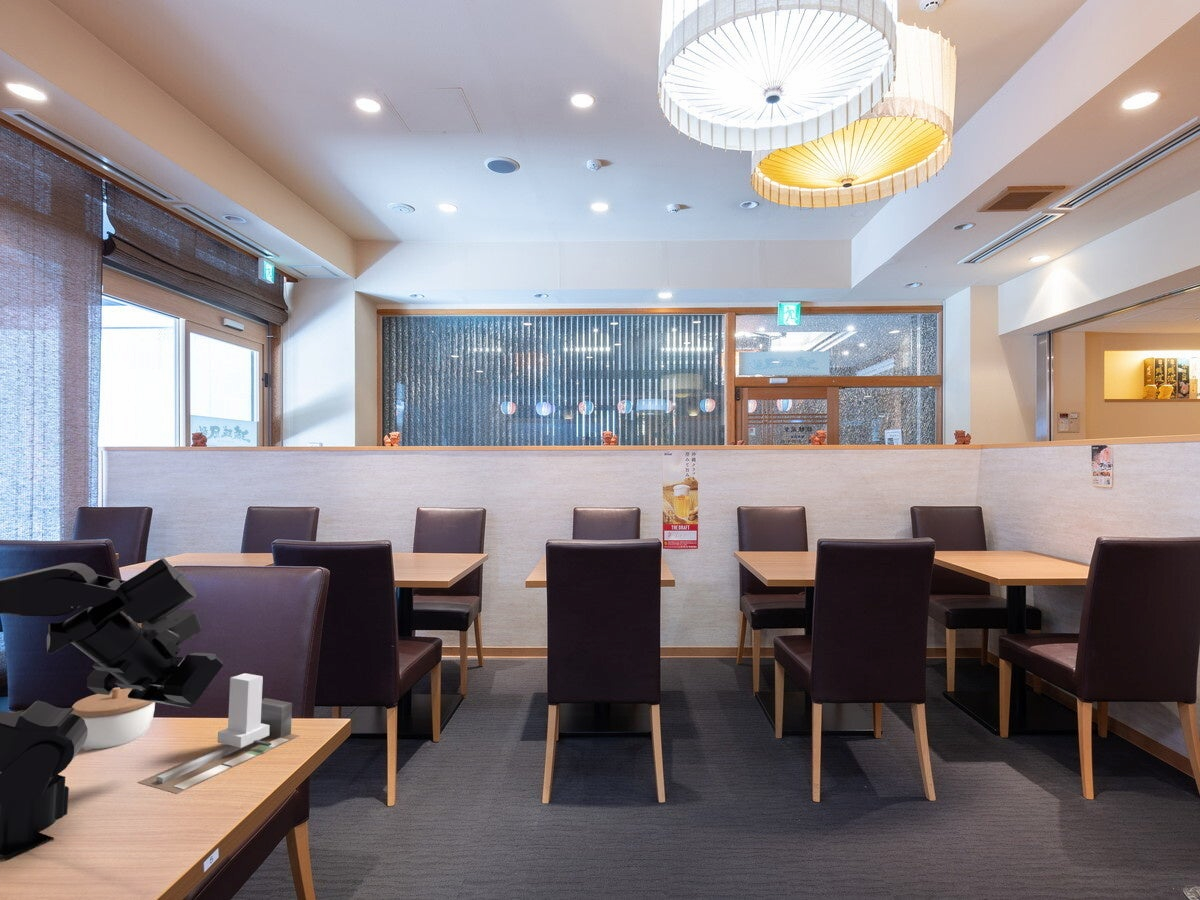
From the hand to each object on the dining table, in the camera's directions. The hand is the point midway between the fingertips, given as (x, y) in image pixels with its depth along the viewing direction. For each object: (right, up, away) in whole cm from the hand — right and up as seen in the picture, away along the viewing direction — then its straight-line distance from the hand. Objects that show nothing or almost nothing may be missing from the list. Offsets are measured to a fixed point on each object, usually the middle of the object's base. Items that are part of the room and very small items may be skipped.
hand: (192, 704), depth 87 cm
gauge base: (+3, -11, +3) cm, 12 cm away
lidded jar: (-20, -11, +10) cm, 25 cm away
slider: (+5, -9, +7) cm, 12 cm away
